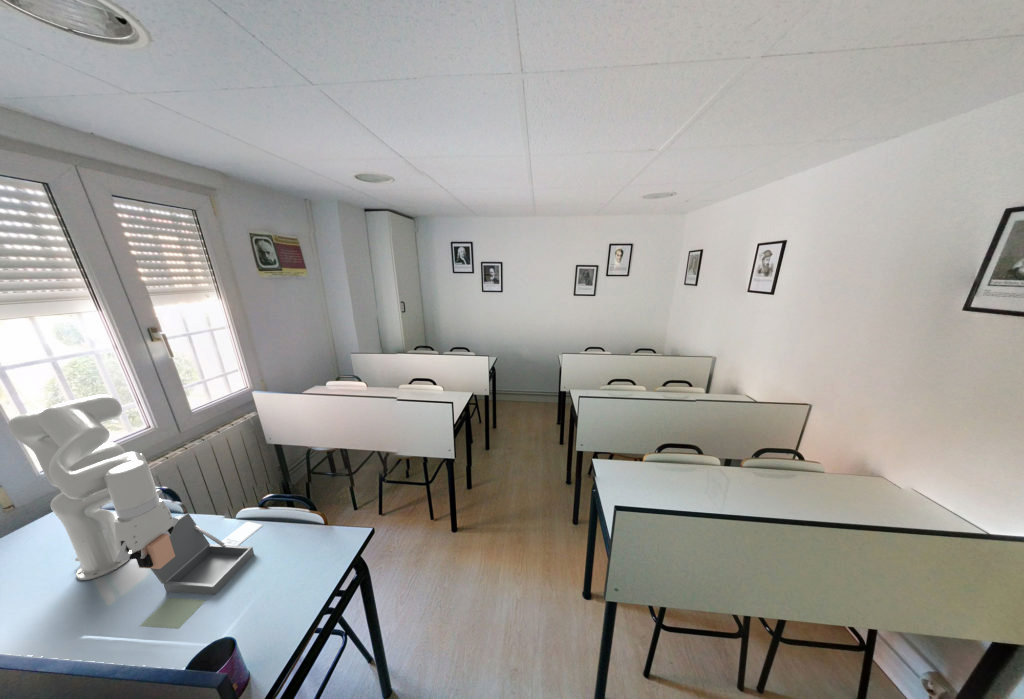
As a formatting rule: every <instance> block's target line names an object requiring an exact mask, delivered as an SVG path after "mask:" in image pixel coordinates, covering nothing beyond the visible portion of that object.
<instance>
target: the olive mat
mask: <svg viewBox="0 0 1024 699" xmlns="http://www.w3.org/2000/svg"><path fill="white" fill-rule="evenodd" d="M206 601H207V599H196V598H195V599H194V598H193V599H192V598H182V597H181V598H180V597H169V598H168V599H167V600H166V601H164V603H162V604H161V606H159V607H157V609H156V610H155V611H154V612H153V613H152V614H151V615H149V616H148V617H147V618H146V619H145V620H144V621H142V623H141V624H140V625H139V627H148V628H149V627H150V628H160V629H161V628H162V629H180V628H181V627H182V626H183V625H184V624H185V623H186V622H187V621H188V620H189V619H190V618H191V617H192V616H193V615H194V613H196V611H198V609H200V608H201V606H203V604H204V603H205V602H206Z"/></svg>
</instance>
